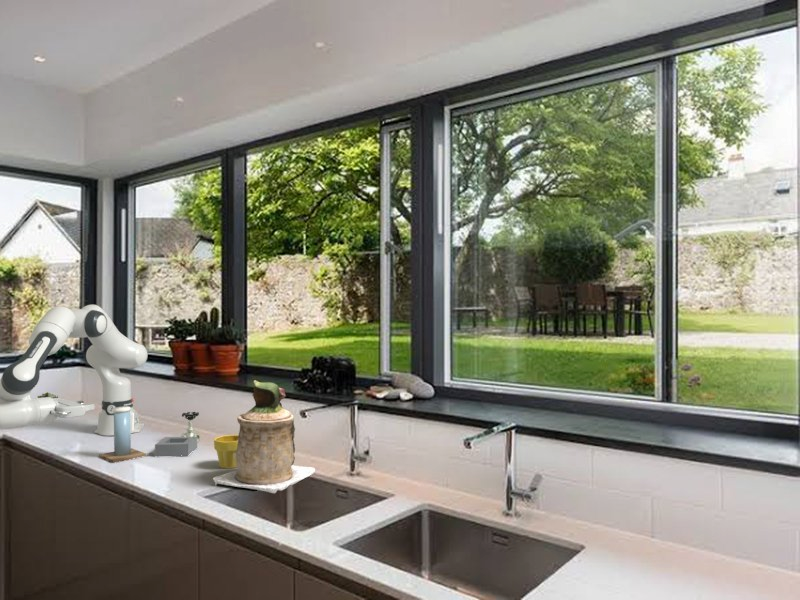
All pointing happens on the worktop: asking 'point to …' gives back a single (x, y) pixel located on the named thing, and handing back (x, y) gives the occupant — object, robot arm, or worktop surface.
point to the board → (113, 458)
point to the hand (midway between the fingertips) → (88, 404)
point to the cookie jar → (265, 445)
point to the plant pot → (226, 450)
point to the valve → (190, 429)
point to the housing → (175, 446)
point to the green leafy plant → (47, 395)
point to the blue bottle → (122, 431)
